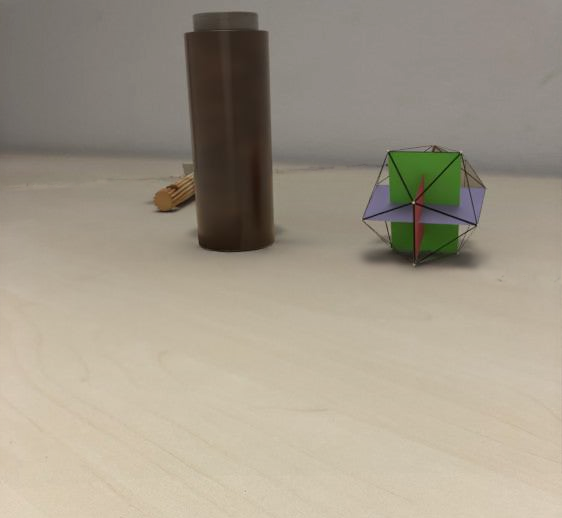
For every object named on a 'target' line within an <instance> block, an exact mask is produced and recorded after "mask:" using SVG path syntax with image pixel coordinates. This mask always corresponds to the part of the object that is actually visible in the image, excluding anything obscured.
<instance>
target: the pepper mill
mask: <svg viewBox="0 0 562 518" xmlns="http://www.w3.org/2000/svg"><path fill="white" fill-rule="evenodd" d="M191 19H192V30H193V31H187V32H184V33H183V43H184V44H183V45H184V58H185V59H184V60H185V73H186V87H187V88H186V89H187V100H188V114H189V126H190V127H189V128H190V130H189V131H190V142H191V155H192V163H193V172H194V186H195V194H194V197H195V198H194V199H195V200H194V201H195V213H196V225H197V238H198V239H197V241H198V246H199V247H201V248H203V249H206V250H209V251H210V250H211V251H215V252H243V251H253V250H259V249H263V248H267V247H269V246H272V245H274V243H275V216H274V215H275V209H274V182H273V181H274V173H273V141H272V140H273V135H272V104H271V102H272V101H271V100H272V99H271V73H270V71H271V69H270V68H271V67H270V66H271V65H270V35H269V34H270V33H269V31H268V30H264V29H260V28H259V27H260V25H259V13H258V12H257V11H256V12H254V11H244V10H243V11H241V10H240V11H237V10H236V11H235V10H232V11H230V10H229V11H207V12H198V13H193V14H192V16H191Z"/></svg>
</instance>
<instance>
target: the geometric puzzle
mask: <svg viewBox="0 0 562 518" xmlns="http://www.w3.org/2000/svg"><path fill="white" fill-rule="evenodd" d="M426 147H427V149H425V150H424V151H418V150H417V151H416V150H415V151H413V147H408V148H407V150H406V151H405V148H400V149H399V150H398V149H394V150H389V149H386V156H385V158H384V160H383V163H382V165H381V169H380V171H379V173H378V175H377V179H376V181H375V184H374V187H373V189H372V192H371V194H370V197H369V199H368V202H367V204H366V208H365V210H364V212H363V216H362V218H360V222H363V223H364V224H365V226H367V227H368V228H369V229H370V230H372V231H373V232H374V233H375V234H376V235H377V236H378V237H379V238H380V239H381V241H383V242H384V243H385V245H387V246H388V247H389V248H390V250H391V251H394V252H395V253H396V254H398V255H400V256H401V257H403V259H405V260H407V261H408V262H409V263H411V264H412V266H413V267H415V266H416V265H420V264H423V263H427V262H430V261H431V262H432V261H433V260H438V259H441V258H444V257H445V258H446V257H448V256H451V255H452V256H453V255H455V254H456V255H459V254H460V250H461V249H462V248H463V246H464V245H465V243H466V242H467V241H468V239H469V238H470V237H471V235H472V234H473V233H474V232H475V230H476V229H477V228H479V227H480V224H479V221H480V218H481V217H480V216H481V212H482V208H483V203H484V199H485V194H486V190H488V187H487V186H485V184H484V183H483V181H482V180H481V179H480V177H479V175H477V172H476V171H475V170H474V169H473V167H472V165H471V164H470V162H469V161H468V160H467V158H466V157H465V155H464V153H463V150H459V151H458V150H454V149H450V148H446V147H443V146H441V147H440V146H439V145H435V144H433V143H432V144H431V145H430V146H429V147H428V145H423V146H422V148H426ZM418 148H420V146H417V147H414V149H418ZM431 148H432V149H431ZM430 149H431V151H428V150H430ZM409 150H411V151H409ZM447 150H450V151H447ZM387 159H388V161H387ZM386 161H387V163H388V176H387V177H384V179H382V180H380V178H381V175H382V172H383V169H384V166H385V163H386ZM386 179H388V184H381V183H382V182H383V181H385V180H386ZM366 221H371V222H373V221H375V222H384V223H385V227H386V231H387V232H386V233H387V236H388V240H389V241H388V240H386V239H385V238H384V237H383V236H382V235H381V234H379V233H378V232H377V231H376V230H375V229H374V228H373V227H372V226H370V225H369V224H368V223H366ZM387 222H390V231H389V228H388V223H387ZM460 226H468V227H467V229H466V231H464V232H463V233H461V234H459V231H460ZM470 226H473V227H471V228H470ZM470 231H472V232H471V233H470V235H469V236H468V237H467V239H466V240H465V237H466V235H467V233H469V232H470ZM462 236H463V239H462V240H461V243H460V246H459V238H461V237H462ZM464 240H465V241H464ZM463 242H464V243H463ZM399 250H401V251H413V262H412V260H410V259H409V258H408V257H406V256H405V255H404V254H403V253H402V252H401V251H399ZM419 252H431V253H430V254H427V256H425V257H423V258H421V259H420V260H418V261H417V258H418V255H419ZM435 253H449V254H447V255H444V256H440V257H437V258H433V259H429V260H426V261H424V260H425V259H427V258H428V257H430V256H432V255H434V254H435ZM416 261H417V262H416ZM422 261H423V262H422Z"/></svg>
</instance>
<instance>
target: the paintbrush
mask: <svg viewBox="0 0 562 518" xmlns="http://www.w3.org/2000/svg"><path fill="white" fill-rule="evenodd" d="M181 166H182V169H183V174H184V177H182V178H180V179H178V180H177V181H175V182H173V183H171V184H169V185H167V186H166V187H164V188H161V189H159V190H157V192H156V193H154V196H153V201H152V202H153V203H154V204H153V205H154V207H156V208H157V210H160V211H161V212H167V211H171V210H172V209H174V208H175V207H176V206H178V205H180V204H181V203H184V202H185V201H186V200H188V199H189V198H191V197H192V196H193V195H194V196H195V186H194V172H193V162H190V163H181Z"/></svg>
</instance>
